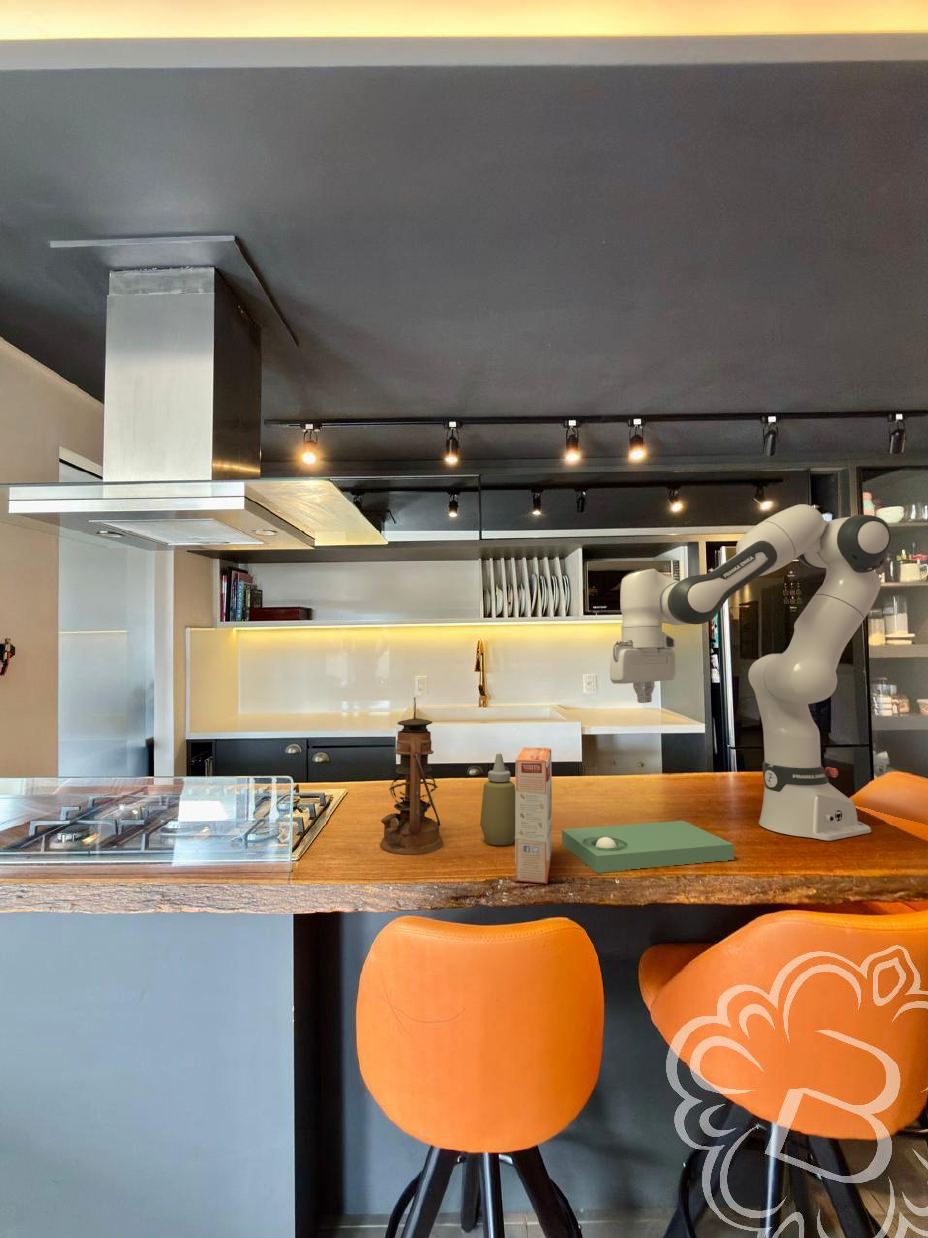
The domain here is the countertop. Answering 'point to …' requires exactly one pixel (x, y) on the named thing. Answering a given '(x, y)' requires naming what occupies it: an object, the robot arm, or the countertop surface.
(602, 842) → the ball
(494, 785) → the squeeze bottle
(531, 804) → the cracker box
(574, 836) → the putting board
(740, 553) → the robot arm
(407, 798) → the lantern
